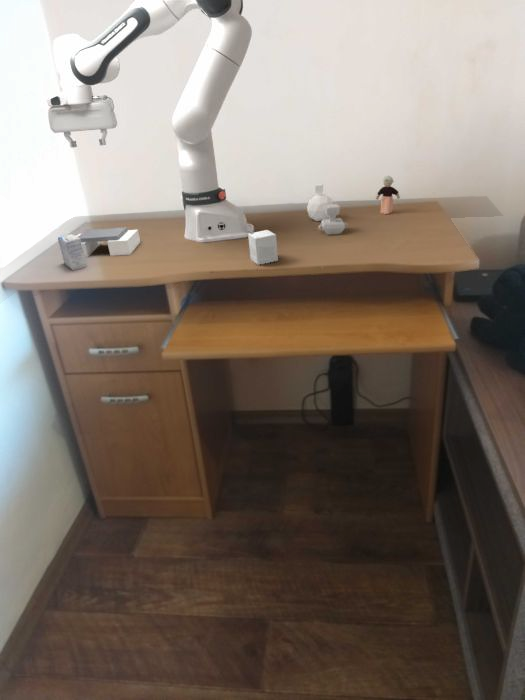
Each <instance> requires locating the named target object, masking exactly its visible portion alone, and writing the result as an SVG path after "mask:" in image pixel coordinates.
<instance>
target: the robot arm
mask: <svg viewBox="0 0 525 700" xmlns="http://www.w3.org/2000/svg"><path fill="white" fill-rule="evenodd" d="M243 8H244V0H135V1H134V2H133V3H132V4H131V5H130V6H129V8H128V9H127V10H126V11H125V12H124V13H123V14H122V15H121V16H120V17H118V18H117V19H116V20H115V21H114V22H113V23H112V24H111V25H110V26H109V27H107V28H106V29H105V30H104V31H103V32H101V34H99V35H98V36H97V37H96V38H95V39H92V40H90V41H87V40H86V39H83V38H82V37H80V35H79V34H75V33H70V34H64V35H61V36H59V37H56V38H55V39H54V41H53V43H52V44H53V45H52V51H53V58H54V65H55V69H56V73H57V75H58V77H59V81H60V83H59V87H60V92H59V93H57V94H55V95H53V96H51V97H50V98H48V99H46V100H47V101H46V102H47V106H48V107H49V109H48V110H47V111H48V112H47V114H48V116H47V117H48V121H49V122H48V123H49V128H50V130H51V131H52V132H53V133H54V134H56V133H63V136H64V137H65V139H66V140H67V141H68V142H69V147H70V148H77V147H78V145H77V141H76V140H74V139H72V137H71V135H72V134H71V132H83V131H84V132H85V131H96V130H97V131H100V133H101V134H102V135H101V138H100V139H98V142H99V146H106V145H107V142H106V137H107V134H108V130H109V129H110V130H111V129H115V128H116V127H118V126H117V125H118V120H117V116H116V114H115V111H114V109H115V106H114V105H115V104H114V101H113V99H112V98H111V97H110V96H108V95H105V94H104V95H94V94H93V89H92V86H94V85H97V84H106V83H107V84H108V83H110V82H112V81H114V80H115V79H117V77H118V76H119V73H120V70H121V69H120V60H119V57H118V56H120V54H122V53H123V52H124V51H125V50H127V48H128V47H130V46H131V45H132V44H133V43H134V42H136V41H139V40H140V39H143V38H147V37H151V36H158V35H161V34H163V33H165V32H166V31H168V30H170V29H172V27H174V26H175V25H177V23H178V22H180V20H181V19H183V18H184V17H185V16H186V15H187V14H188V13H190V11H192V10H195V9H198V10H200V12H201V13H202V14H204V15H205V16H206V17H207V18H209V19H210V20H211V31H210V33H209V36H208V38H207V40H206V42H205V45H204V46H203V49H202V51H201V54H200V55H199V57H198V60H197V62H196V64H195V66H194V69H193V70H192V73H191V74H190V77H189V80H188V82H187V84H186V86H185V87H184V91H183V92H182V94H181V97H180V99H179V101H178V102H177V105H176V108H175V110H174V112H173V115H172V118H171V119H172V120H171V125H172V129H173V131H174V135H175V143H176V151H177V158H178V167H179V168H178V169H179V174H180V180H181V186H182V188H181V189H182V191H181V199H182V206H183V209H184V213H185V216H184V217H185V226H184V227H185V228H184V229H185V230H184V235H183V236H184V239H186V240H189V241H194V242H197V243H202V244H203V243H210V242H218V241H226V240H227V241H229V240H235V239H244V238H248V234H249V233H254V232H255V226H254V225H253V224H251V223H248V222H247V221H248V220H247V217H246V213H245V212H244V210H242V209H241V208H240V207H238V206H237V205H236V204H233V203H232V202H231V201H229V200H227V193H226V188H221V187H219V181H218V180H219V179H218V171H217V164H216V158H215V157H216V156H215V149H214V140H213V133H212V132H213V131H212V128H213V127H214V124H215V122H216V120H217V118H218V116H219V113H220V111H221V109H222V106H223V104H224V102H225V100H226V97H227V96H228V93H229V91H230V89H231V87H232V85H233V84H234V81H235V78H236V76H237V75H238V72H239V71H240V69H241V66H242V64H243V62H244V60H245V57H246V55H247V51H248V48H249V46H250V43H251V40H252V39H251V38H252V35H253V29H252V26H251V23H249V21H248V20H247V19H246V18H245V16H243V15H242V14H243V10H244V9H243Z"/></svg>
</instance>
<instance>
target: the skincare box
mask: <svg viewBox="0 0 525 700" xmlns="http://www.w3.org/2000/svg"><path fill="white" fill-rule="evenodd" d="M247 238H248V246H249V254H250V255H249V256H250V260H251V261H252V262H253V263H255V265H258V266H260V264H261V265H266V264H269V263H270V262H271V263H274V261H275V262H278V261H279V255H278V253H279V252H278V245H277V234H276V233H273V232H272V231H270V230H269V229H264V230H260V231H256V232H255V231H254V233H249V234H248V237H247ZM265 263H266V264H265Z"/></svg>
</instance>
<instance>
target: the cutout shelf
mask: <svg viewBox="0 0 525 700" xmlns="http://www.w3.org/2000/svg"><path fill="white" fill-rule="evenodd" d="M75 236H76V237H78V238H79V239H80V240H81V244H82V247H83V251H84V255H85V258H88V257H89V256H90V255H91V254H92V253H93V252H95V250H96V249H98V247H100V246H101V242H107V246H108V251H109V255H110V256H113V257H114V256H129V255H131V254H132V253H133V252H134V251H135V249H136V248H138V245H140V243H141V238H140V233H139V229H128V227H126V226H124V227H112V228H110V227H109V228H97V229H95V228H94V229H86V230H84V231H83V232H82V233H78V234H77V235H75Z"/></svg>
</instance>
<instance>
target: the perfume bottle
mask: <svg viewBox="0 0 525 700" xmlns="http://www.w3.org/2000/svg"><path fill="white" fill-rule="evenodd" d="M314 186H315V193H316V195H313V196H312V197H311V198H309V200H308V202H307V207H306V211H307V213H308V214H307V215H308V217H309V218H311V220H314V221H315V222H321V221H322V220H323V219H329V215H327V213H326V210H325V205H333V204H334V200H333V198H332V197H330V196H328V195H327V194H325V193H324V183H315V185H314ZM323 193H324V194H323Z"/></svg>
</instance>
